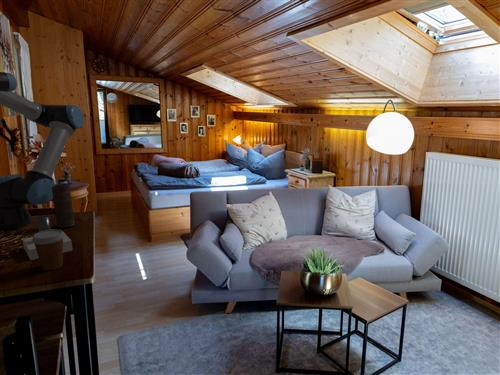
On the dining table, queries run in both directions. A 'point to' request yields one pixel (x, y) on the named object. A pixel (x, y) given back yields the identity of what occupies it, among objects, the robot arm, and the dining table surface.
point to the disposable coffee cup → (49, 248)
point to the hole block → (32, 251)
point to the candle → (63, 205)
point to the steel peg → (44, 223)
